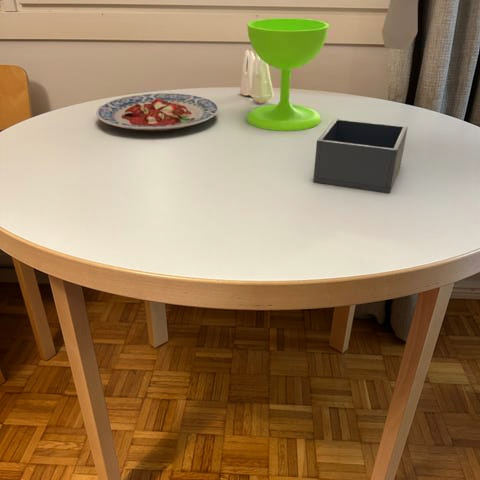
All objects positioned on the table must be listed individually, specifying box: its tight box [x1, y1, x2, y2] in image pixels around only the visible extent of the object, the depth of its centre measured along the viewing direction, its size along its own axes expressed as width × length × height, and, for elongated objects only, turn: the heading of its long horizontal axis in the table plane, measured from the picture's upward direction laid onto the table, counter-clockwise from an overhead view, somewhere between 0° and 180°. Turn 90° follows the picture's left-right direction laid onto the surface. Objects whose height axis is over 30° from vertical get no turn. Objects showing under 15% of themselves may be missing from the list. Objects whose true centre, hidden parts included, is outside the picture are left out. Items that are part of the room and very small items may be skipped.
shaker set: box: [239, 49, 275, 104], centre depth 123 cm, size 12×4×11 cm, turn 22°
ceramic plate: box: [95, 92, 219, 132], centre depth 113 cm, size 26×26×3 cm
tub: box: [312, 118, 409, 194], centre depth 87 cm, size 12×12×7 cm
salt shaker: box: [381, 0, 419, 50], centre depth 86 cm, size 6×6×13 cm
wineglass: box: [246, 17, 330, 132], centre depth 109 cm, size 16×16×18 cm
